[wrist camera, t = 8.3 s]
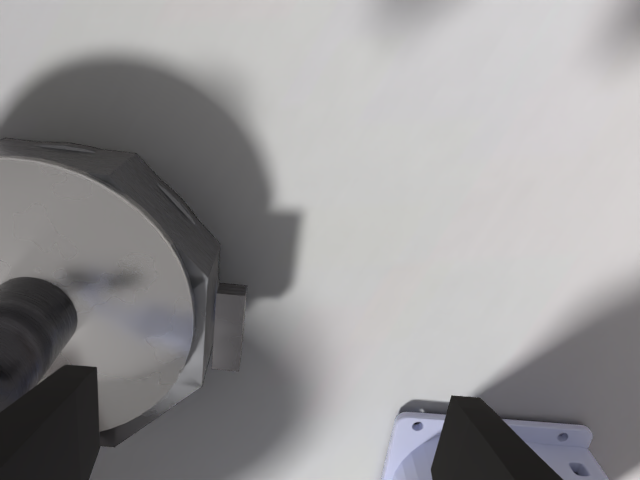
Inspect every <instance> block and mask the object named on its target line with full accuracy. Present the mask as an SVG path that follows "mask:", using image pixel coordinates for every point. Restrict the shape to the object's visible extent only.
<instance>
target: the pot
mask: <svg viewBox="0 0 640 480" xmlns="http://www.w3.org/2000/svg"><path fill="white" fill-rule="evenodd" d="M0 156H24V157H33V158H41V159H45V160H50V161H54V162H59V163H63V164H66V165H69V166H72V167H74V168H77V169H80V170H83V171H86V172H88V173H90V174H92V175H94V176H96V177H98V178H100V179H102V180H104V181H106V182H108V183H110V184H111V185H113V186H114V187H116V188H117V189H119V190H121V191H122V192H124V193H125V194H127V195H128V196H129V197H131V198H132V199H133V200H134V201H136V202H137V203H138V204H139V205H141V206H142V207H143V208H144V209H145V210H146V211H147V212H148V213H149V214H150V215H151V216H152V217H153V218H154V219H155V220H156V221H157V222H158V223H159V224H160V226H161V227H162V228H163V229H164V231H165V232H166V233H167V235H168V236H169V237H170V238H171V240H172V241H173V243H174V245H175V246H176V248H177V250H178V252H179V253H180V255H181V257H182V259H183V261H184V263H185V266H186V268H187V271H188V273H189V275H190V279H191V283H192V287H193V290H194V296H195V305H196V326H195V332H194V337H193V342H192V345H191V348H190V351H189V354H188V357H187V360H186V362H185V365H184V368H183V369H182V371H181V373H180V375H179V377H178V378H177V380H176V382H175V383H174V384H173V386H172V387H171V388H170V390H169V391H168V392H167V393H166V395H165V396H164V397H162V398H161V399H160V400H159V401H158V402H157V403H156V404H155V405H154V406H153V407H151V408H150V409H148V410H147V411H146V412H144V413H143V414H141V415H140V416H138V417H136V418H134V419H132V420H130V421H129V422H127V423H124V424H122V425H119V426H117V427H114V428H111V429H108V430H104V431H100V432H99V433H100V446H107V447H115V446H117V445H118V444H120V443H121V442H123V441H124V440H126V439H127V438H128V437H130V436H131V435H133V434H134V433H136V432H137V431H139V430H140V429H141V428H143V427H144V426H146V425H147V424H149V423H150V422H152V421H153V420H154V419H156V418H157V417H159V416H160V415H162V414H163V413H165V412H166V411H167V410H169V409H170V408H172V407H173V406H175V405H176V404H178V403H179V402H180V401H182V400H183V399H185V398H186V397H188V396H189V395H191V394H192V393H193V392H195V391H196V390H198V389H199V388H201V387H202V385H203V382H204V378H205V374H206V370H207V366H208V362H209V359H210V355H211V351H212V347H213V356H212V369H217V370H229V371H239V366H240V360H241V351H242V339H243V328H244V317H245V306H246V294H247V286H246V285H236V284H225V283H220V284H219V275H218V267H219V252H220V243H219V242H218V241H217V240H216V239H215V238H214V237H213V236H212V235H211V233H210V232H209V231H208V230H207V229H206V228H205V227H204V226H203V225H202V224H201V223H200V222H199V221H198V219H197V218H196V216H195V215H194V213H193V212H192V211H191V210H190V208H189V207H188V206H187V205H186V203H185V202H184V201H183V200H182V199H181V198H180V197H179V196H178V195H177V194H176V193H175V192H174V191H173V190H172V189H171V188H170V187H169V186H168V185H167V184H165V183H164V182H163V181H161V180H160V179H159V177H158V176H157V175H156V174H155V173H154V172H153V171H152V170H151V169H150V168H149V167H148V166H147V165H146V164H145V162H144V161H143V160H142V159H141V158H140V157H139V156H138V155H137V154H136V153H127V152H119V151H111V150H102V149H98V148H94V147H90V146H84V145H79V144H73V143H60V142H34V141H26V140H17V139H9V138H4V139H1V140H0Z"/></svg>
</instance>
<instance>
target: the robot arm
mask: <svg viewBox="0 0 640 480" xmlns="http://www.w3.org/2000/svg"><path fill="white" fill-rule="evenodd" d="M416 422H420V423H419V424H417V425H414V423H416ZM561 433H563V434H561ZM559 434H561V435H559ZM592 438H593V434H592V432H591V431H590V429H589V428H588V427H587V426H584V425H574V424H561V423H548V422H535V421H522V420H509V419H501V418H500V417H499V416H498V415H497V414H496V413H495V412H494V411H493V410H492V409H491V408H490V407H489V406H488V405H487V404H486V403H485V402H484V401H483V400H482V399H480V398H475V397H463V396H451V399H450V403H449V406H448V410H447V413H446V415H444V414H431V413H418V412H402V413H400V414H399V415H397V416H396V418H395V422H394V426H393V430H392V434H391V438H390V443H389V447H388V451H387V455H386V460H385V464H384V468H383V472H382V476H381V480H610V479H609V478H608V477H607V475H606V474H605V472H604V471H603V469H602V468H601V467H600V465H599V464H598V462H597V461H596V459H595V458H594V456H593V455H592V454H591V452H590V451H589V449H588V448H589V445H590V443H591V441H592ZM99 449H100V433H99V406H98V379H97V367H91V366H78V365H66V364H65V365H64V366H62V367H61V368H59V369H58V370H57V371H55V372H54V373H52V374H51V375H50V376H48V377H47V378H46V379H44V380H43V381H42V382H40V383H39V384H38V385H36V386H35V387H34V388H32V389H31V390H30V391H28V392H27V393H25V394H24V395H23V396H21V397H20V398H19V399H17V400H16V401H15V402H13V403H12V404H11V405H9V406H8V407H7V408H5V409H4V410H3V411H1V412H0V480H89V477H90V475H91V472H92V469H93V466H94V463H95V460H96V458H97V455H98V452H99Z"/></svg>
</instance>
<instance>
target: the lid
mask: <svg viewBox="0 0 640 480" xmlns="http://www.w3.org/2000/svg"><path fill="white" fill-rule="evenodd" d="M195 326H196V305H195V296H194V290H193V287H192V283H191V279H190V275H189V273H188V271H187V268H186V266H185V263H184V261H183V259H182V257H181V255H180V253H179V252H178V250H177V248H176V246H175V245H174V243H173V241H172V240H171V238H170V237H169V236H168V235H167V233H166V232H165V231H164V229H163V228H162V227H161V226H160V224H159V223H158V222H157V221H156V220H155V219H154V218H153V217H152V216H151V215H150V214H149V213H148V212H147V211H146V210H145V209H144V208H143V207H142V206H141V205H139V204H138V203H137V202H136V201H134V200H133V199H132V198H131V197H129V196H128V195H127V194H125V193H124V192H122V191H121V190H119V189H117V188H116V187H114V186H113V185H111V184H110V183H108V182H106V181H104V180H102V179H100V178H98V177H96V176H94V175H92V174H90V173H88V172H86V171H83V170H80V169H77V168H74V167H72V166H69V165H66V164H63V163H59V162H54V161H50V160H45V159H41V158H33V157H24V156H0V412H1V411H3V410H4V409H5V408H7V407H8V406H9V405H11V404H12V403H13V402H15V401H16V400H17V399H19V398H20V397H21V396H23V395H24V394H25V393H27V392H28V391H30V390H31V389H32V388H34V387H35V386H36V385H38V384H39V383H40V382H42V381H43V380H44V379H46V378H47V377H48V376H50V375H51V374H52V373H54V372H55V371H57V370H58V369H59V368H61V367H62V366H64V365H65V364H66V365H78V366H91V367H97V379H98V406H99V432H100V431H104V430H108V429H111V428H114V427H117V426H119V425H122V424H124V423H127V422H129V421H130V420H132V419H134V418H136V417H138V416H140V415H141V414H143V413H144V412H146V411H147V410H148V409H150V408H151V407H153V406H154V405H155V404H156V403H157V402H158V401H159V400H160V399H161V398H162V397H164V396H165V395H166V393H167V392H168V391H169V390H170V388H171V387H172V386H173V384H174V383H175V382H176V380H177V378H178V377H179V375H180V373H181V371H182V369H183V368H184V365H185V362H186V360H187V357H188V354H189V351H190V348H191V345H192V342H193V337H194V332H195Z"/></svg>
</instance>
